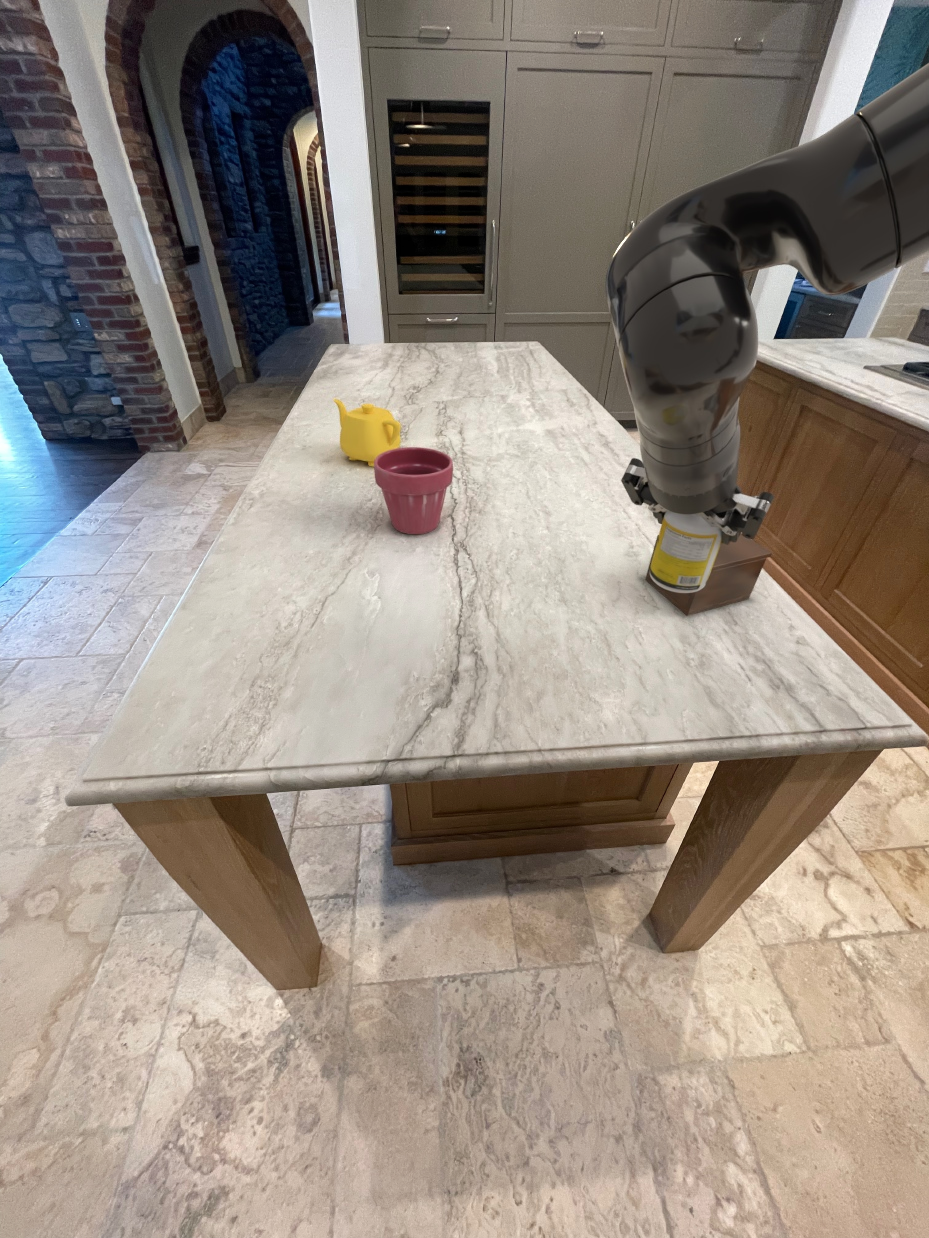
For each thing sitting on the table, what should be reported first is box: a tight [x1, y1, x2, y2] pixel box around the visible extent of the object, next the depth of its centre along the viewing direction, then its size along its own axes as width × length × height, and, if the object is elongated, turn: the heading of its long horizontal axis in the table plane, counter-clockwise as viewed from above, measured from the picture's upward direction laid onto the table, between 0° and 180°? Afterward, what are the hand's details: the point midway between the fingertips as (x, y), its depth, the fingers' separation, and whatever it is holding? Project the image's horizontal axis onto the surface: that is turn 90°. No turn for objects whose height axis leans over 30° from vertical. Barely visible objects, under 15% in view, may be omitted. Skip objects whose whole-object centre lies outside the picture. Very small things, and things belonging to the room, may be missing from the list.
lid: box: [656, 533, 773, 571], centre depth 84 cm, size 13×11×1 cm
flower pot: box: [373, 446, 454, 535], centre depth 101 cm, size 14×14×13 cm
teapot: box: [333, 398, 402, 467], centre depth 127 cm, size 13×20×12 cm
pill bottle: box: [650, 510, 722, 593], centre depth 59 cm, size 6×6×12 cm
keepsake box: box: [644, 539, 767, 617], centre depth 86 cm, size 13×11×8 cm
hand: (696, 526), depth 60 cm, fingers closed on pill bottle, 6 cm apart
